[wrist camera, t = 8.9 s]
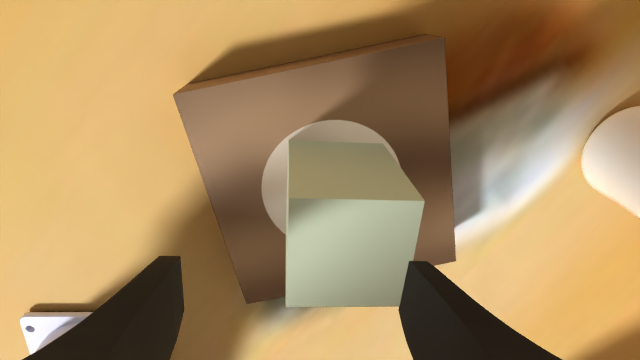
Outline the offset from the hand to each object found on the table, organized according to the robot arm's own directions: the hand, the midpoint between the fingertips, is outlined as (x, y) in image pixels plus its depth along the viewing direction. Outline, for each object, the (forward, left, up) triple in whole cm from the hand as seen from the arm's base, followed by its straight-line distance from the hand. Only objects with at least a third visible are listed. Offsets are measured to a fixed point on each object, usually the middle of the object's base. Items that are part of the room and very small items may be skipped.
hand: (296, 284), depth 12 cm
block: (0, -2, -7) cm, 8 cm away
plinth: (0, -2, -10) cm, 10 cm away
